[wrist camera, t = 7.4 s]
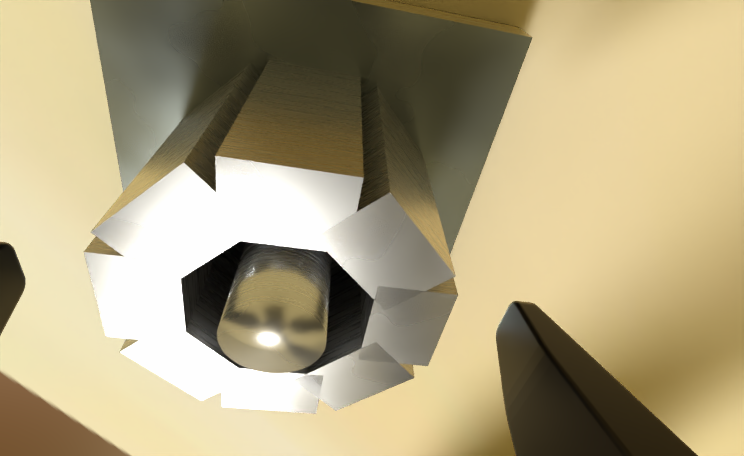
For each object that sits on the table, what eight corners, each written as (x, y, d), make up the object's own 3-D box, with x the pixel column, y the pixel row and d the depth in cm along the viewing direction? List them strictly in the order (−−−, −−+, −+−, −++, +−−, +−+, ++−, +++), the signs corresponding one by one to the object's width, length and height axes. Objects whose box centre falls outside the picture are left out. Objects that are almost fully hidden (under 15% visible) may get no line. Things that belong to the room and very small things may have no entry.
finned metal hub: (421, 298, 15) (451, 478, 10) (152, 268, 14) (47, 456, 9) (518, 27, 10) (668, 136, 5) (105, -59, 9) (-194, -18, 4)
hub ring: (391, 281, 13) (404, 420, 10) (189, 258, 13) (122, 399, 9) (446, 91, 10) (499, 197, 6) (172, 42, 9) (52, 131, 5)
